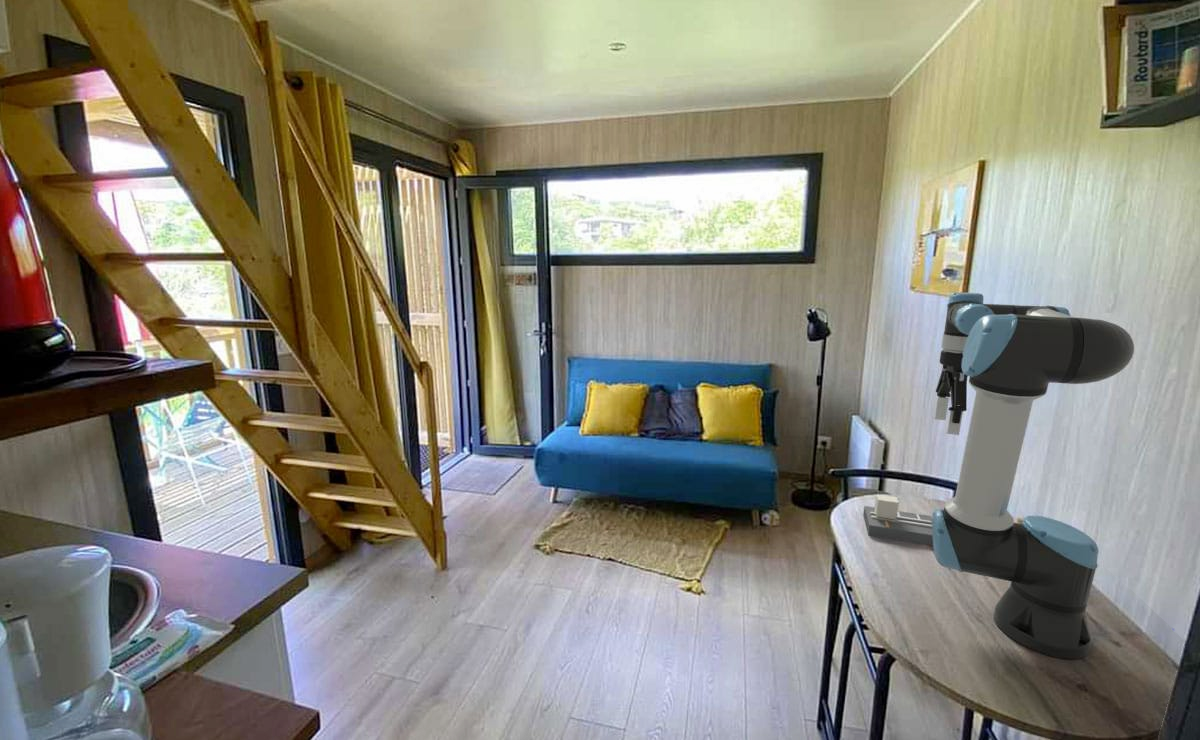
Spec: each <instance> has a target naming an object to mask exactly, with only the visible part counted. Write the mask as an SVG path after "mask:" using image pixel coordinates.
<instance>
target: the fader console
mask: <svg viewBox="0 0 1200 740" xmlns="http://www.w3.org/2000/svg"><path fill="white" fill-rule="evenodd" d="M874 510H875V506H874V507H873V506H867V505H864V506H863V514H862V516H863V519H864V524H865V528H866V532H867V535H868V536H872V537H875V538H876V537H878V538H884V539H889V540H890V539H891V540H895V541H901V542H907V543H914V544H918V545H919V544H920V545H924V544H925V546H932V547H934V546H933V534H932V515H926V514H919V513H913V512H906V511H900V510H898V512H897V519H890V518H883V517H877V516H876V514H875V511H874Z"/></svg>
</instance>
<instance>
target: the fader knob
mask: <svg viewBox="0 0 1200 740" xmlns="http://www.w3.org/2000/svg"><path fill="white" fill-rule="evenodd" d="M874 502H875V503H874V507H875V510H874V511H875V514H876V516H877V517H883V518H890V519H897V512H898V511H899V503H900V502H899V500H898V497H897V496H891V495H884V494H876V496H875V501H874Z"/></svg>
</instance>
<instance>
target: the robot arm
mask: <svg viewBox="0 0 1200 740" xmlns="http://www.w3.org/2000/svg"><path fill="white" fill-rule="evenodd" d="M946 305H947V309H946V318H945V323H944V324H945V325H944V332H943V335H942V341H941V348H942V350H940V355H939V364H941V365H942V368H941V373H940V376H939V378H938V383H937V386H936V389H935V392H936V393H937V394H936V396H937V397H936V404H935V408H934V409H935V410H934V416H933V418H934V420H939V421H946V420H947V419H946V418H947V412H948V411H949V413H948V420H947V426H946V427H947V428H946V432H945V433H946V434H947V435H954V436H955V435H956V436H959V435H960V431H961V430H960V429H961V427H962V426H961V424H962V419H963V418H962V417H963V414H964V413H963V412H967V410H968V408H967V404H968V403H967V396H968V383H969V386H971V388H973V389H974V391H975V393H976V394H975V397H974V403H973V408H972V412H971V417H970V421H969V422H970V423H969V427H968V433H967V437H966V442H965V446H964V452H963V457H962V461H961V462H962V463H961V466H960V471H959V476H958V481H957V486H956V492H955V496H953V497H950V498H948V499H946V501H945V502H944V507H943V509H940V508H938V509H934V510H933V512H932V515H931V517H932V534H933V546H932V547H933V552H934V556H935V559H936V562H937V563H938V564H939V565H940V566H941V567H944V568H948V569H952V570H955V571H958V572H960V573H963V572H964V573H968V574H973V575H977V576H983V577H987V578H993V579H997V580H1003V581H1008V582H1010V586H1009V587H1008V588H1007V589H1006V590H1005V592H1004V594H1002V596H1001V597H1000V598H999V600H998V601H997V603H996V605H995V607H994V611H993V620H994V623H995V624H996V626H997V627H998V628H999V629H1000V630H1001V631H1002V633H1004V634H1005V635H1006V636H1007V637H1009V638H1010V639H1011V640H1014V641H1015V642H1017V643H1018V644H1020V645H1022V646H1024V647H1026V648H1028V649H1031V650H1032V651H1035V652H1037V653H1040V654H1044V655H1046V656H1050V657H1054V658H1058V659H1067V660H1078V659H1082V658H1085V657H1087V656H1088V654H1089V653H1090V652H1089V651H1090V649H1091V645H1092V637H1091V633H1090V632H1091V631H1090V627H1089V623H1088V622H1089V621H1088V619H1087V614H1086V610H1087V605H1088V602H1089V597H1090V592H1091V588H1092V585H1093V581H1094V577H1095V573H1096V569H1097V568H1098V555H1099V546H1098V544H1097V543H1096V541H1094V539H1093V538H1092V537H1090V535H1088V534H1086V533H1085V532H1083V531H1082V530H1080V529H1078V528H1076V527H1074V526H1072V525H1071V524H1067V523H1065V522H1063V521H1060V520H1056V519H1053V518H1050V517H1047V516H1043V515H1026V516H1025V517H1024V519H1023V520H1022V524H1019V523H1014V519H1015V518H1014V517H1013V515H1012V514H1011V513H1010V512H1009V511H1008V506H1009V502H1010V498H1011V495H1012V490H1013V486H1014V481H1015V477H1016V472H1017V469H1018V465H1019V460H1020V458H1021V457H1020V456H1021V453H1022V448H1023V445H1024V441H1025V440H1024V439H1025V436H1026V432H1027V428H1028V423H1029V420H1030V419H1029V418H1030V414H1031V410H1032V406H1033V402H1034V401H1035V400H1037V399H1040V398H1042V397H1043V396H1045V395H1046V393H1047V391H1048V387H1049V384H1050V383H1051V384H1052V383H1054V384H1055V383H1056V384H1067V385H1069V384H1070V385H1082V384H1091V383H1096V382H1100V381H1103V380H1106V379H1109V378H1112V377H1113V376H1115V375H1117V374H1118V373H1120V372H1121V371H1123V370H1124V369H1125V368H1127V366H1128V365H1129V364H1130V362H1131V360H1132V359H1133V355H1134V353H1135V343H1134V340H1133V338H1132V336H1131V335H1130V333H1129V332H1128V331H1127V330H1126V329H1125V328H1123V327H1121V326H1120V325H1118V324H1116V323H1112V322H1111V321H1110V322H1109V321H1105V320H1102V319H1096V318H1095V319H1093V318H1086V317H1074V316H1071V313H1070V312H1069V310H1068V309H1067V308H1066V307H1063V306H1061V307H1060V306H1053V305H1042V306H1041V305H1018V304H1017V305H1016V304H1015V305H1014V304H997V303H996V304H995V303H984V295H983V294H982V293H978V292H963V291H962V292H957V291H956V292H953V293H950V295H949V299H948V303H947V304H946ZM968 377H969V379H968ZM949 400H950V402H951V403H950V404H951V405H950V406H951V407H949V408H948V405H949Z"/></svg>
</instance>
